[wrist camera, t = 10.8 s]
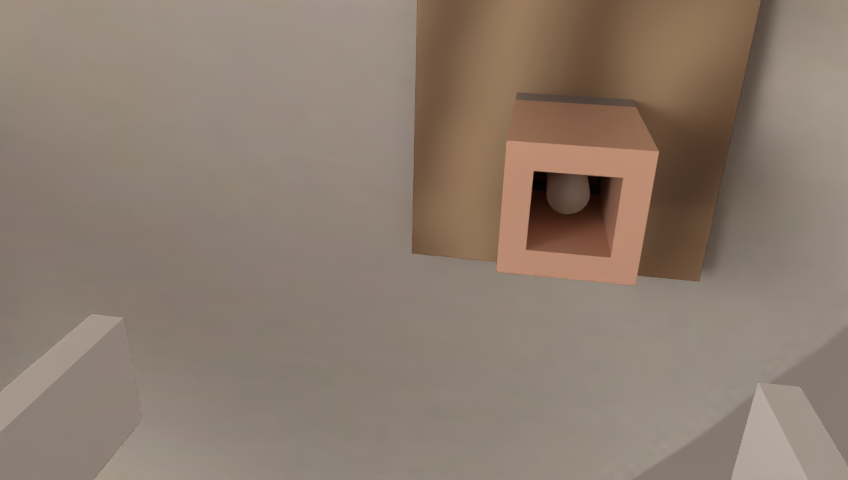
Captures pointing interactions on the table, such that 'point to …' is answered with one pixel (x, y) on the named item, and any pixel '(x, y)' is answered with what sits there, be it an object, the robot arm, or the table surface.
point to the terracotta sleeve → (609, 199)
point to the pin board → (575, 76)
